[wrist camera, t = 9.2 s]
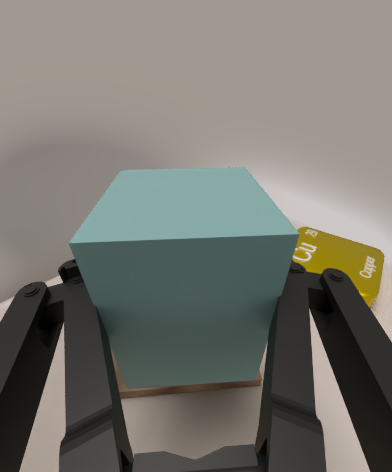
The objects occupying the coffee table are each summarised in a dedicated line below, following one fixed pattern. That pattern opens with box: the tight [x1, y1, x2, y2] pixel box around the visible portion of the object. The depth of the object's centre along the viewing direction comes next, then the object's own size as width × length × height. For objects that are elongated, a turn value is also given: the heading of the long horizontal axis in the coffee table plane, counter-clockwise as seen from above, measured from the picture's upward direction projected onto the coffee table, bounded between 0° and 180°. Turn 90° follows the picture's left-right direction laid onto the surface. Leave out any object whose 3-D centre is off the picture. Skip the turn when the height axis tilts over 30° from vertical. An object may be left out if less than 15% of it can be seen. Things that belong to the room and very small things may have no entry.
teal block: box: [69, 167, 300, 389], centre depth 14 cm, size 8×8×11 cm
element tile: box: [292, 227, 384, 308], centre depth 40 cm, size 15×15×5 cm
